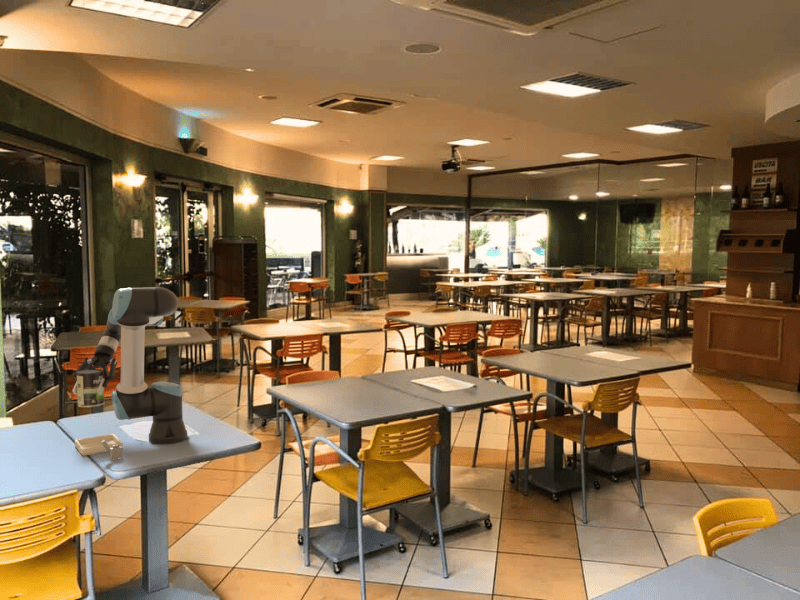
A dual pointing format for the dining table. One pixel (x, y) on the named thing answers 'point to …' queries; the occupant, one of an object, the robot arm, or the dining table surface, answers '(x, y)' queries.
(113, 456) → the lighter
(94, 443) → the pocket tray
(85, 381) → the coffee can
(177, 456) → the dining table surface
